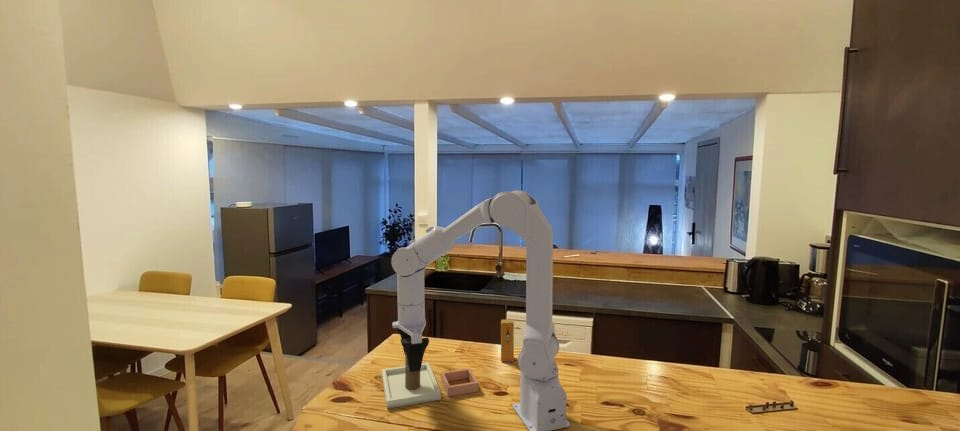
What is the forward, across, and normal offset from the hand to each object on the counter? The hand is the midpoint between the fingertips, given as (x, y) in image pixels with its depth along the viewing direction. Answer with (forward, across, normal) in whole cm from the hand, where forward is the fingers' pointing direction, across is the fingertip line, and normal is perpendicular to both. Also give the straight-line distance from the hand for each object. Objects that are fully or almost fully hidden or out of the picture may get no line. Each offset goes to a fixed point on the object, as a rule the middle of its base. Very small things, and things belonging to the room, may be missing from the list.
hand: (412, 362), depth 87 cm
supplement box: (+6, -7, +25) cm, 27 cm away
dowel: (+5, 0, 0) cm, 5 cm away
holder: (+6, +2, +10) cm, 12 cm away
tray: (+6, -1, 0) cm, 6 cm away
